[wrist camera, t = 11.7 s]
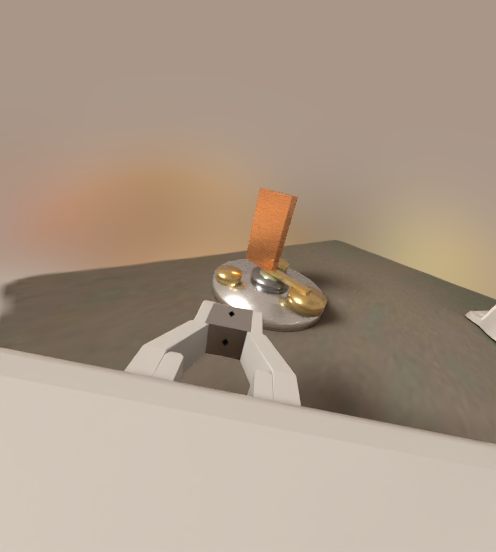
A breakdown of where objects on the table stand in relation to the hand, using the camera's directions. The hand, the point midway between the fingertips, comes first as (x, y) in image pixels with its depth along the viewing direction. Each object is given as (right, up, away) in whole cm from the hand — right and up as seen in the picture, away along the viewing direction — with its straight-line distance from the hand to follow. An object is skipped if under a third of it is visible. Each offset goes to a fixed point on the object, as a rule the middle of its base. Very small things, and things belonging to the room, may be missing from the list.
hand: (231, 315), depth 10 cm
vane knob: (+5, 0, +18) cm, 18 cm away
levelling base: (+4, 0, +20) cm, 20 cm away
